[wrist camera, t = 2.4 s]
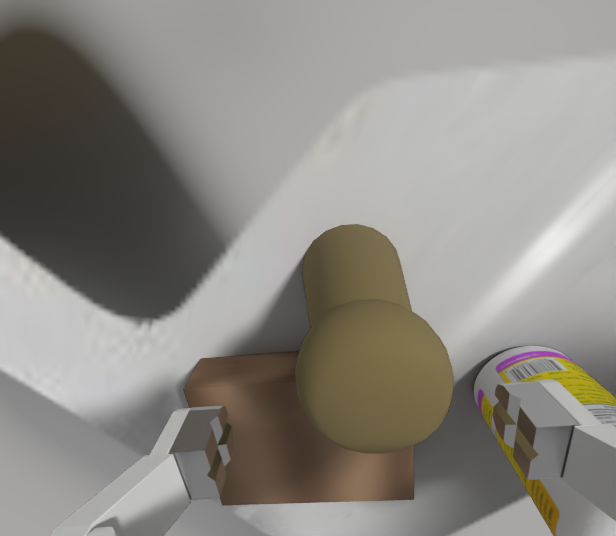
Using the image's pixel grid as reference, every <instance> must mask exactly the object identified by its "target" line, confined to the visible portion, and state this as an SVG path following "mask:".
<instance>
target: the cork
mask: <svg viewBox="0 0 616 536" xmlns="http://www.w3.org/2000/svg"><path fill="white" fill-rule="evenodd" d="M302 276H303V285H304V291H305V297H306V303H307V310H308V316H309V322H310V328H311V330H310V331H309V332H308V334H307V335H306V337H305V338H304V340H303V342H302V345H301V348H300V352H299V355H298V359H297V363H296V370H295V375H296V384H297V392H298V397H299V401H300V404H301V406H302V408H303V410H304V412H305V413H306V415H307V417H308V419H309V420H310V422H311V423H312V424H313V426H314V427H315V428H316V429H317V430H318V431H319V432H320V433H321V434H322V435H323V436H324V437H325V438H327V439H328V440H329V441H331V442H333V443H335V444H337V445H339V446H341V447H343V448H345V449H347V450H352V451H356V452H361V453H365V454H384V453H391V452H395V451H400V450H404V449H408V448H410V447H412V446H414V445H416V444H418V443H419V442H421V441H423V440H425V439H426V438H428V437H429V436H430V435H431V434H432V433H433V432H434V431H435V430H436V429H437V428H439V427H440V425H441V423H442V421H443V419H444V418H445V416H446V414H447V412H448V410H449V407H450V404H451V401H452V395H453V386H454V376H453V371H452V366H451V363H450V360H449V356H448V353H447V350H446V347H445V346H444V344H443V343H442V341H441V339H440V338H439V337H438V335H437V334H436V333H435V332H434V330H433V329H432V328H431V327H430V325H429V324H428V323H427V322H426V321H425V320H424V319H422V318H421V317H420V316H418V315H417V314H415V313H414V312H412V309H411V305H410V301H409V297H408V293H407V288H406V284H405V280H404V276H403V272H402V268H401V264H400V260H399V257H398V254H397V251H396V248H395V247H394V246H393V244H392V243H391V242H390V241H389V239H388V238H387V237H386V236H384V235H383V234H381V233H380V232H378V231H377V230H375V229H374V228H370V227H366V226H362V225H358V224H354V225H341V226H338V227H335V228H333V229H330V230H327V231H326V232H324V233H323V234H322V235H320V236H319V237H318V238H317V239H315V240H314V241H313V243H312V244H311V246H310V247H309V249H308V250H307V252H306V253H305V257H304V261H303V265H302Z"/></svg>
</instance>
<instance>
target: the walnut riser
mask: <svg viewBox="0 0 616 536" xmlns="http://www.w3.org/2000/svg"><path fill="white" fill-rule="evenodd" d="M299 352H300V351H297V352H283V353H270V354H256V355H243V356H230V357H216V358H203V359H200V361H199V363H198V364H197V366H196V368H195V370H194V371H193V373H192V375H191V377H190V378H189V380H188V382H187V384H186V385H185V387H184V389H183V390H184V393H185V396H186V399H187V402H188V405H189V408H193V407H210V406H225V407H226V409H227V412H228V418H227V423H228V424H229V425H231V426H232V430H233V436H234V445H233V453H232V457H231V460H230V461H229V462H228V463H227V464H226V465H225V466H224V467H225V471H226V474H227V475H226V478H225V482H224V486H223V489H222V493H221V496H220V500H221V502H222V505H248V504H281V503H315V502H348V501H381V500H414V446H412V447H410V448H408V449H404V450H400V451H395V452H391V453H384V454H365V453H361V452H356V451H352V450H347V449H345V448H343V447H341V446H339V445H337V444H335V443H333V442H331V441H329V440H328V439H327V438H325V437H324V436H323V435H322V434H321V433H320V432H319V431H318V430H317V429H316V428H315V427H314V426H313V424H312V423H311V422H310V420H309V419H308V417H307V415H306V413H305V412H304V410H303V408H302V406H301V404H300V401H299V397H298V392H297V384H296V375H295V370H296V363H297V359H298V355H299Z"/></svg>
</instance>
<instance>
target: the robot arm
mask: <svg viewBox="0 0 616 536" xmlns="http://www.w3.org/2000/svg"><path fill="white" fill-rule="evenodd" d="M495 396H496V397H497V399H498V400H499V402H498V403H497V404H496V405H495V406H494V407H493V419H494V423H495V427H496V429H497V431H498V434H499V435H500V437H501V439H502V440H503V442H504V443H506V444H507V445H509V446H510V447H512V448H514V450H513V458H514V459H515V461H516V462H517V464H518V465H519V467H520V469H521V470H522V472H523V473H524V475H525V476H526V478H527V479H528V480H536V479H562V481H563V482H565V483H566V484H567V485H569V486H570V487H571V488H573V489H574V490H575V491H577V492H578V493H579V494H580V495H582V496H583V497H584V498H586V499H587V500H588V501H590V502H591V503H592V504H594V505H595V506H596V507H597V508H599V509H600V510H601V511H603V512H604V513H605V514H607V515H608V516H609V517H611V518H612V519H613V520H614V521H616V427H614V426H612V425H610V424H602V423H601V422H600V421H599V420H598V419H597V418H596V417H595V416H593V415H592V414H591V413H590V412H589V411H588V410H587V409H586V408H585V407H584V406H583V405H582V404H581V403H580V402H579V401H578V400H577V399H576V398H575V397H574V396H573V395H572V394H571V393H569V392H568V391H567V390H566V389H565V388H564V387H563V386H562V385H561V384H560V383H559V382H558V381H556V380H554V379H548V380H537V381H528V382H517V383H505V384H498V385H497V387H496V389H495ZM227 418H228V412H227V409H226V407H225V406H210V407H193V408H178V409H176V410H175V411H174V412H173V413H172V415H171V417H170V418H169V420H168V422H167V424H166V426H165V428H164V429H163V431H162V433H161V435H160V437H159V438H158V440H157V442H156V444H155V446H154V448H153V449H152V451H151V453H150V455H146V456H143V457H142V458H141V459H140V460H138V461H137V462H136V463H135V464H133V465H132V466H131V467H130V468H129V469H127V470H126V471H125V472H124V473H123V474H121V475H120V476H119V477H117V478H116V479H115V480H114V481H113V482H111V483H110V484H109V485H108V486H106V487H105V488H104V489H103V490H101V491H100V492H99V493H98V494H96V495H95V496H94V497H93V498H92V499H90V500H89V501H88V502H87V503H85V504H84V505H83V506H82V507H81V508H79V509H78V510H77V511H75V513H73V514H72V515H71V516H69V517H68V518H67V519H66V520H65V521H63V522H62V523H61V524H59V525H58V526H57V527H56V528H55V529H54V531H53V532H52V533H51V535H50V536H164V535H165V534H166V532H167V531H168V530H169V529H170V528H171V526H172V525H173V524H174V522H175V521H176V520H177V519H178V518H179V516H180V515H181V514H182V513H183V511H184V510H185V509H186V508H187V506H188V505H189V504H190V503H191V501H190V500H198V499H210V498H220V496H221V493H222V489H223V486H224V482H225V478H226V475H227V474H226V471H225V467H224V466H225V465H226V464H227V463H228V462H229V461H230V460H231V457H232V453H233V445H234V436H233V430H232V426H231V425H229V424H228V423H227Z"/></svg>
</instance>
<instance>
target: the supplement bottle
mask: <svg viewBox="0 0 616 536" xmlns="http://www.w3.org/2000/svg"><path fill="white" fill-rule="evenodd" d="M548 379H554V380H556V381H558V382H559V383H560V384H561V385H562V386H563V387H564V388H565V389H566V390H567V391H568V392H569V393H571V394H572V395H573V396H574V397H575V398H576V399H577V400H578V401H579V402H580V403H581V404H582V405H583V406H584V407H585V408H586V409H587V410H588V411H589V412H590V413H591V414H592V415H593V416H595V417H596V418H597V419H598V420H599V421H600V422H601V423H602V424H610V425H612V426H614V427H616V398H615V397H614V396H613V395H612V394H611V393H610V392H608V391H607V390H606V389H605V388H604V387H602V386H601V385H600V384H599V383H598V382H597V381H596V380H594V379H593V378H592V377H591V376H590V375H589V374H587V373H586V372H585V371H584V370H583V369H582V368H580V367H579V366H578V365H577V364H576V363H575V362H573V361H572V360H571V359H569V358H568V357H567V356H566V355H564V354H562V353H561V352H559V351H557V350H554V349H551V348H547V347H542V346H522V347H517V348H513V349H510V350H507V351H505V352H503V353H501V354H499V355H497V356H496V357H494V358H493V359H491V360H490V361H489V362H488V363H487V364H486V365H485V366H484V367H483V368H482V370H481V371H480V373H479V374H478V376H477V378H476V381H475V384H474V398H475V402H476V405H477V407H478V408H479V410H480V412H481V414H482V416H483V417H484V419H485V421H486V422H487V424H488V426H489V427H490V429H491V431H492V433H493V434H494V436H495V438H496V439H497V441H498V442H499V444H500V446H501V448H502V449H503V451H504V453H505V454H506V456H507V458H508V459H509V461H510V463H511V465H512V466H513V468H514V470H515V471H516V473H517V475H518V476H519V478H520V480H521V481H522V483H523V485H524V486H525V488H526V490H527V491H528V493H529V495H530V497H531V498H532V500H533V502H534V503H535V505H536V507H537V508H538V510H539V512H540V513H541V515H542V517H543V519H544V520H545V522H546V524H547V525H548V527H549V528H550V530H551V532H552V533H553V535H554V536H616V521H614V520H613V519H612V518H611V517H609V516H608V515H607V514H605V513H604V512H603V511H601V510H600V509H599V508H597V507H596V506H595V505H594V504H592V503H591V502H590V501H588V500H587V499H586V498H584V497H583V496H582V495H580V494H579V493H578V492H577V491H575V490H574V489H573V488H571V487H570V486H569V485H567V484H566V483H565V482H563V481H562V479H536V480H528V479H527V478H526V476H525V475H524V473H523V472H522V470H521V469H520V467H519V465H518V464H517V462H516V461H515V459H514V458H513V450H514V448H512V447H510V446H509V445H507V444H506V443H504V442H503V440H502V439H501V437H500V435H499V434H498V431H497V429H496V427H495V423H494V419H493V407H494V406H495V405H496V404H497V403H498V402H499V400H498V399H497V397H496V396H495V389H496V387H497V385H498V384H505V383H517V382H528V381H537V380H548Z"/></svg>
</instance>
